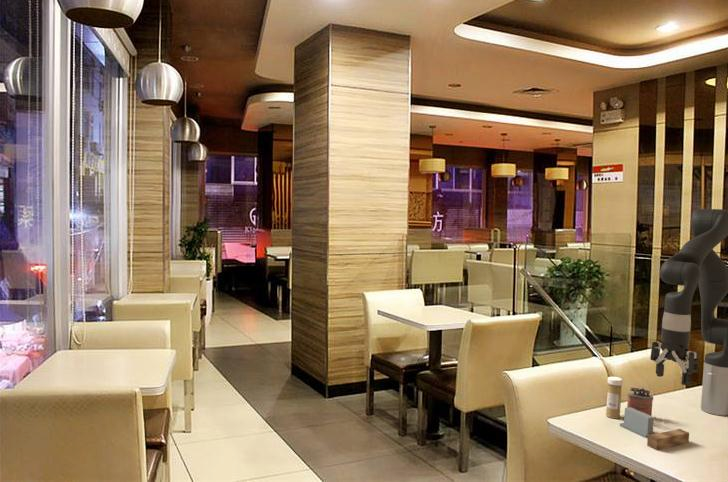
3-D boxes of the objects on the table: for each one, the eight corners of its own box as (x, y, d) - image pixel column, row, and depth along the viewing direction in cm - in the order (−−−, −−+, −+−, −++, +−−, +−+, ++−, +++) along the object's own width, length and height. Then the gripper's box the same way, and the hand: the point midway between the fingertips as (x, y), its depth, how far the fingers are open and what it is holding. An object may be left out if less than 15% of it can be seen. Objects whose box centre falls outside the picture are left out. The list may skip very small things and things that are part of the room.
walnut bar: (679, 440, 181) (679, 428, 180) (688, 444, 178) (689, 432, 177) (647, 446, 175) (647, 435, 175) (656, 451, 172) (657, 439, 172)
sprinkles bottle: (622, 417, 197) (625, 379, 196) (614, 419, 195) (617, 381, 194) (610, 413, 201) (613, 375, 200) (602, 415, 199) (605, 377, 198)
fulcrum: (630, 423, 192) (631, 406, 191) (656, 435, 183) (658, 417, 182) (619, 425, 190) (620, 408, 189) (645, 437, 181) (646, 419, 180)
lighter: (651, 416, 199) (653, 388, 198) (652, 419, 196) (654, 391, 195) (625, 412, 202) (627, 384, 201) (626, 416, 199) (628, 387, 198)
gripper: (706, 332, 169) (702, 386, 170) (664, 321, 182) (660, 372, 183) (689, 333, 166) (684, 389, 167) (647, 323, 179) (643, 374, 180)
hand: (672, 380), depth 175 cm, fingers open, 8 cm apart
